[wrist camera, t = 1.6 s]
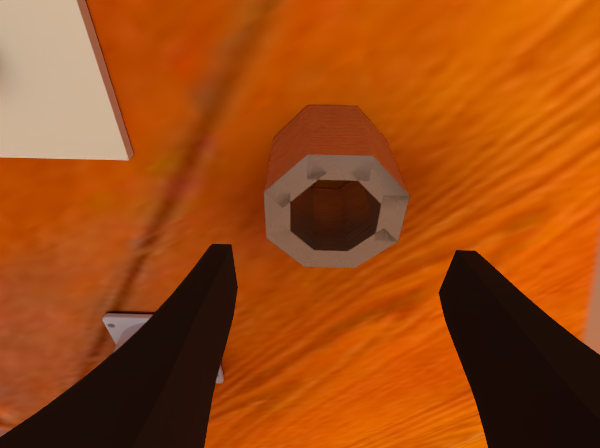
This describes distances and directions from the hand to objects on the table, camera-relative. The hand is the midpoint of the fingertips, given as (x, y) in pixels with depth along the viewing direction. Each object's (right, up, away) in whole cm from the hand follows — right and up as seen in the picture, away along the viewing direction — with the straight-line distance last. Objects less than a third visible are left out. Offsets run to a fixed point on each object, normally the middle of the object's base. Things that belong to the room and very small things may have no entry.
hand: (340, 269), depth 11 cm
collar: (0, +5, +6) cm, 8 cm away
